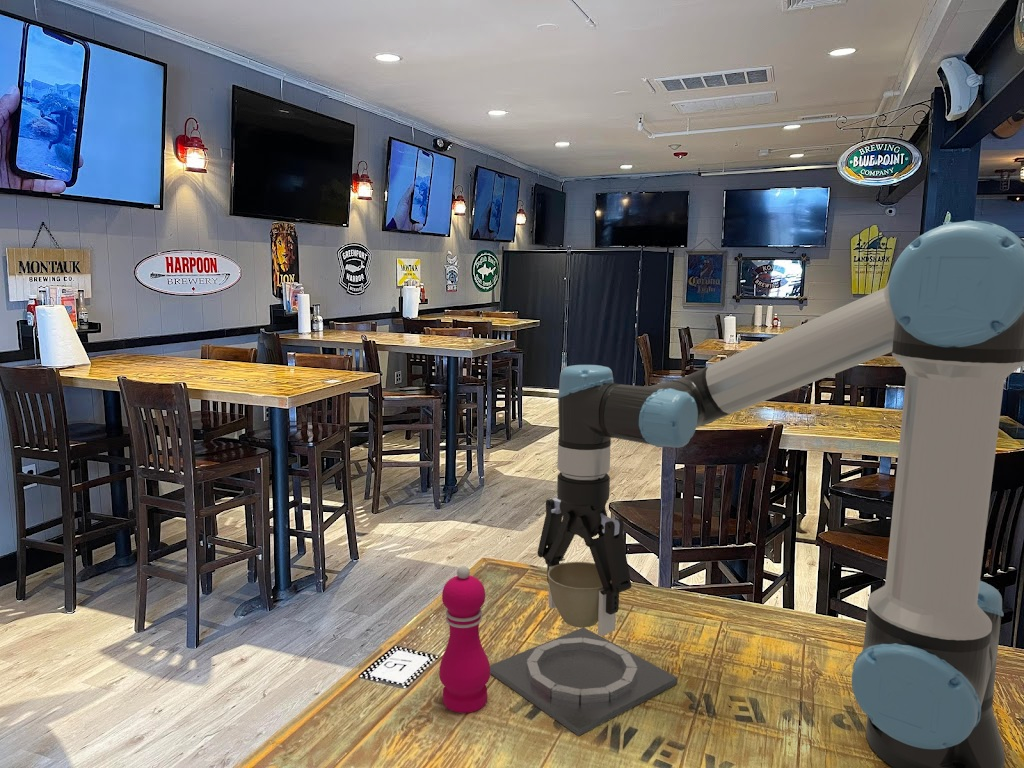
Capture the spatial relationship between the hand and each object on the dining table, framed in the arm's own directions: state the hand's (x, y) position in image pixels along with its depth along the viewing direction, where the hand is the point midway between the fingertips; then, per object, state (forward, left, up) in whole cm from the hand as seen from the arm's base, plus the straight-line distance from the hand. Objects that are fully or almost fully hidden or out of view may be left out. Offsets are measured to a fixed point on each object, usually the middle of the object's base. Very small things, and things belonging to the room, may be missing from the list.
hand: (580, 618), depth 109 cm
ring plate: (0, 0, -9) cm, 9 cm away
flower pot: (0, 0, 0) cm, 0 cm away
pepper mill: (+6, +17, -10) cm, 20 cm away
